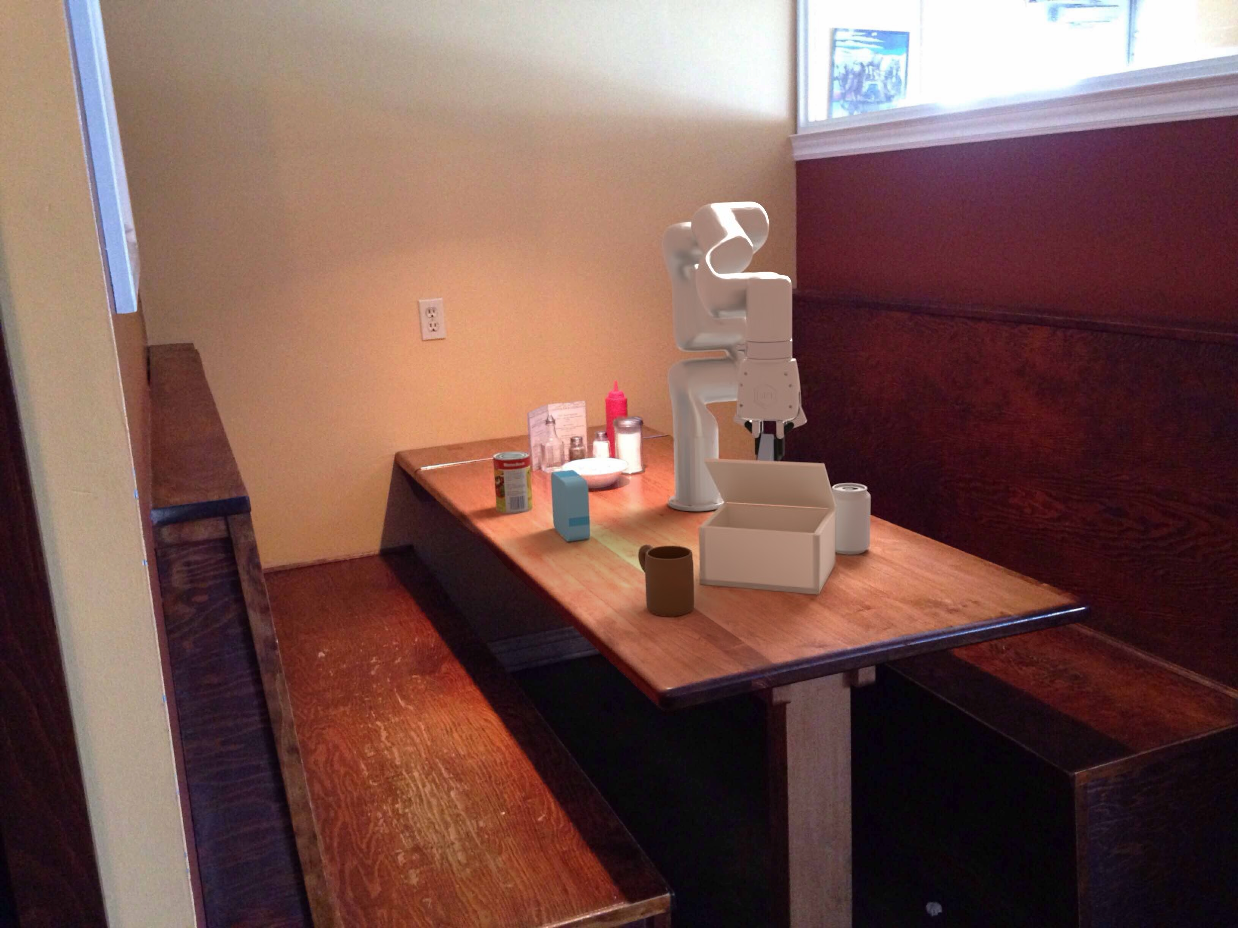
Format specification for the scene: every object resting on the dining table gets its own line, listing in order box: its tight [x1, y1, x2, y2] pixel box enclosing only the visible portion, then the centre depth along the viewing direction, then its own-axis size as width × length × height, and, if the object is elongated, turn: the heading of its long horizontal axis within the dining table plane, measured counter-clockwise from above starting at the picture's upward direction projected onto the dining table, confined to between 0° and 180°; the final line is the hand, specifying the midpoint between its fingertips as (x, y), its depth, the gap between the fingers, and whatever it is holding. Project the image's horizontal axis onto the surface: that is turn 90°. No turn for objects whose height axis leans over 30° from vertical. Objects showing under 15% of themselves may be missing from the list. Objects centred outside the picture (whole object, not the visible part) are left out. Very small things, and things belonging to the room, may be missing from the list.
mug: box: [637, 544, 695, 617], centre depth 167 cm, size 12×8×9 cm, turn 32°
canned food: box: [492, 450, 534, 514], centre depth 228 cm, size 8×8×12 cm
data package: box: [550, 469, 591, 543], centre depth 207 cm, size 12×4×12 cm, turn 18°
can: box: [827, 482, 872, 556], centre depth 191 cm, size 8×8×12 cm
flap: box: [704, 433, 836, 509], centre depth 180 cm, size 16×20×6 cm
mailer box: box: [698, 502, 836, 596], centre depth 179 cm, size 16×20×10 cm
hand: (769, 459), depth 177 cm, fingers closed on flap, 2 cm apart
